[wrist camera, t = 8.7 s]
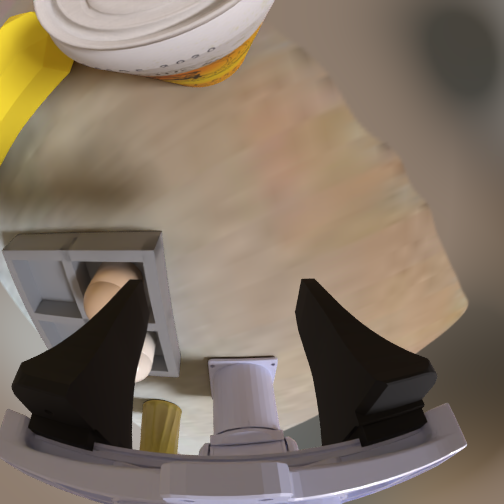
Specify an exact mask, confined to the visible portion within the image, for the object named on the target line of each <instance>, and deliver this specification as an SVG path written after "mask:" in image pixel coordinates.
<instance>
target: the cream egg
mask: <svg viewBox="0 0 504 504" xmlns="http://www.w3.org/2000/svg"><path fill="white" fill-rule="evenodd" d="M156 342H157V336H156V334H155V332H154V331H147V334H146V337H145V341H144V345H143V349H142V352H141V356H140V360H139V364H138V368H137V373H136V378H135V382H139V381H142V380H143V379H145V378H146V377H147V376H148V375H149V373H150V371H151V368H152V363H153V358H154V352H155V347H156Z"/></svg>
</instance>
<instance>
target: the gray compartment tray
mask: <svg viewBox="0 0 504 504" xmlns="http://www.w3.org/2000/svg"><path fill="white" fill-rule="evenodd" d="M2 252H3V255H4V258H5V261H6V263H7V266H8V269H9V271H10V274H11V276H12V278H13V281H14V283H15V286H16V288H17V290H18V292H19V295H20V297H21V299H22V301H23V303H24V305H25V307H26V309H27V311H28V313H29V315H30V317H31V319H32V321H33V323H34V325H35V327H36V329H37V330H38V332H39V334H40V336H41V338H42V339H43V341H44V343H45V345H46V346H47V348H48V350H49V349H51V348H52V347H54V346H56V345H57V344H59V343H60V342H62V341H63V340H65V339H66V338H68V337H69V336H70V335H72V334H73V333H75V332H76V331H77V330H78V329H80V328H81V327H82V326H83V325H85V324H86V323H87V322H88V321H89V319H88V317H87V315H86V313H85V310H84V305H83V300H84V294H85V292H86V289H87V287H88V286H89V284H90V282H91V280H92V278H93V277H94V275H95V273H96V271H97V270H98V268H99V266H100V265H101V263H102V262H132V263H133V264H134V265H136V266H137V267H138V269H139V270H140V272H141V273H142V276H143V279H144V285H143V286H144V291H145V295H146V300H147V304H148V308H149V312H150V314H149V321H148V328H147V331H154V332H155V334H156V336H157V342H156V347H155V352H154V358H153V363H152V368H151V371H150V373H149V376H164V377H179V371H180V361H181V354H180V349H179V344H178V339H177V334H176V328H175V323H174V317H173V311H172V305H171V299H170V292H169V286H168V279H167V271H166V264H165V256H164V248H163V239H162V231H137V232H85V233H50V234H24V235H17V236H16V237H15V238H14V239H13V240H12V241H11V242H10V243H9V244H8V245H7V246H6V247H5V248H4V249H3V250H2Z"/></svg>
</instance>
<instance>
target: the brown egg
mask: <svg viewBox="0 0 504 504" xmlns="http://www.w3.org/2000/svg"><path fill="white" fill-rule="evenodd" d="M130 279H142V281H143V285H144V279H143V276H142V273H141V272H140V270H139V269H138V267H137V266H136V265H134V264H133V263H132V262H102V263H101V265H100V266H99V268H98V270H97V271H96V273H95V275H94V277H93V278H92V280H91V282H90V284H89V286H88V287H87V289H86V292H85V294H84V300H83V305H84V310H85V313H86V315H87V317H88V319H89V320H90V319H91V318H92V317H93V316H94V315H95V314H97V313H98V312H99V311H100V310H101V309H102V308H103V307H104V306H105V305H106V304H107V303H108V302H109V301H110V300H111V298H112V297H113V296H114V295H115V294H116V293H117V292H118V291H119V290H120V289H121V288H122V287H123V286H124V285H125V284H126V283H127V282H128V281H129V280H130Z"/></svg>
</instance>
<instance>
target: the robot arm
mask: <svg viewBox="0 0 504 504" xmlns="http://www.w3.org/2000/svg"><path fill="white" fill-rule="evenodd" d="M149 314H150V312H149V308H148V304H147V300H146V295H145V291H144V286H143V281H142V279H130V280H129V281H128V282H127V283H126V284H125V285H124V286H123V287H122V288H121V289H120V290H119V291H118V292H117V293H116V294H115V295H114V296H113V297H112V298H111V300H110V301H109V302H108V303H107V304H106V305H105V306H104V307H103V308H102V309H101V310H100V311H99V312H98V313H97V314H95V315H94V316H93V317H92V318H91V319H90V320H89V321H88V322H87V323H86V324H85V325H83V326H82V327H81V328H80V329H78V330H77V331H76V332H75V333H73V334H72V335H70V336H69V337H68V338H66V339H65V340H63V341H62V342H60V343H59V344H57V345H56V346H54V347H52V348H51V349H49V350H47V351H45V352H44V353H42V354H40V355H38V356H36V357H33V358H31V359H29V360H27V361H24V362H22V363H21V365H20V367H19V369H18V372H17V374H16V376H15V379H14V381H13V383H12V390H13V392H14V394H15V395H16V397H17V398H18V399H19V400H20V401H21V402H22V403H23V404H24V405H25V406H26V408H27V409H28V410H29V411H30V412H31V413H32V416H31V419H30V418H28V417H27V416H25V415H23V414H20V413H18V412H15V411H13V410H10V409H7V410H6V413H5V416H4V419H3V422H2V425H1V428H0V459H2V460H4V461H5V462H6V463H8V464H10V465H11V466H13V467H14V468H16V469H18V470H19V471H21V472H23V473H25V474H26V475H28V476H31V477H33V478H35V479H37V480H39V481H42V482H44V483H46V484H49V485H51V486H54V487H56V488H59V489H61V490H64V491H66V492H69V493H72V494H75V495H78V496H80V497H84V498H87V499H90V500H93V501H97V502H100V503H104V504H342V503H344V502H348V501H351V500H355V499H358V498H361V497H364V496H367V495H370V494H373V493H375V492H378V491H381V490H384V489H386V488H389V487H392V486H394V485H396V484H399V483H401V482H404V481H406V480H408V479H411V478H413V477H415V476H417V475H419V474H421V473H424V472H426V471H428V470H430V469H432V468H433V467H436V466H438V465H439V464H441V463H442V462H444V461H446V460H447V459H449V458H450V457H452V456H453V455H455V454H456V453H458V452H459V451H460V450H462V449H463V448H465V447H466V446H467V443H466V440H465V438H464V436H463V433H462V431H461V429H460V427H459V425H458V423H457V420H456V418H455V416H454V414H453V412H452V410H451V408H450V406H449V404H448V403H445V404H443V405H440V406H438V407H435V408H433V409H431V410H429V411H427V412H425V413H424V412H423V410H422V408H423V407H424V402H423V400H422V398H423V397H424V396H425V395H426V394H427V393H428V391H429V390H430V389H431V388H432V387H433V385H434V384H435V382H436V379H437V374H436V372H435V370H434V368H433V367H432V365H431V363H430V361H429V360H428V359H427V358H425V357H422V356H419V355H417V354H414V353H412V352H409V351H407V350H405V349H403V348H401V347H399V346H397V345H395V344H393V343H391V342H389V341H388V340H386V339H384V338H383V337H381V336H379V335H378V334H376V333H375V332H373V331H372V330H370V329H369V328H368V327H366V326H365V325H364V324H362V323H361V322H360V321H358V320H357V319H356V318H355V317H354V316H352V315H351V314H350V313H349V312H348V311H347V310H346V309H344V308H343V307H342V306H341V305H340V304H339V303H338V302H337V301H336V300H335V299H334V298H333V297H332V296H331V295H330V294H329V293H328V292H327V291H326V290H325V289H324V288H323V287H322V286H321V285H320V284H319V283H318V282H317V281H316V280H315V279H301V284H300V289H299V295H298V300H297V305H296V310H295V314H296V320H297V326H298V331H299V334H300V337H301V341H302V344H303V347H304V350H305V353H306V356H307V359H308V362H309V366H310V369H311V373H312V376H313V381H314V387H315V392H316V398H317V405H318V411H319V418H320V428H321V439H322V446H321V447H315V448H309V449H303V450H299V449H298V446H297V443H296V441H294V440H293V439H291V437H285V438H284V435H283V430H280V426H279V420H278V413H277V407H276V401H275V395H274V389H273V382H274V377H275V372H276V368H277V363H278V360H277V358H275V357H269V358H243V359H210V360H208V368H209V377H210V386H211V395H212V399H213V427H214V435H211V436H210V443H205V444H204V445H203V447H202V448H201V449H200V451H199V455H181V454H167V453H157V452H148V451H140V450H133V449H132V409H133V395H134V386H135V378H136V373H137V368H138V364H139V360H140V356H141V352H142V349H143V345H144V341H145V337H146V334H147V328H148V321H149Z"/></svg>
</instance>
